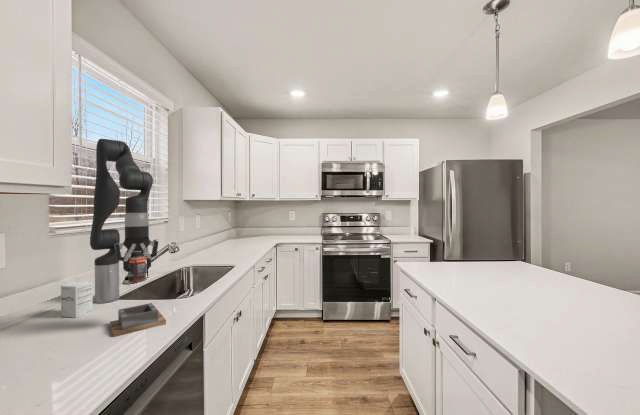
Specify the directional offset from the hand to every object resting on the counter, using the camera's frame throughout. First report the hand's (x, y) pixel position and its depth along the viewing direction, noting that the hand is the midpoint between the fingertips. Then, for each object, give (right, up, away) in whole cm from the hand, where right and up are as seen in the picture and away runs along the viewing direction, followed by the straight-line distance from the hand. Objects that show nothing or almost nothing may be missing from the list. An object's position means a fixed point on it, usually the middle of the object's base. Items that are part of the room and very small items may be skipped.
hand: (137, 269), depth 107 cm
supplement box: (-32, -21, +11) cm, 39 cm away
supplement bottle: (0, -4, 0) cm, 4 cm away
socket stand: (0, -21, 0) cm, 21 cm away
